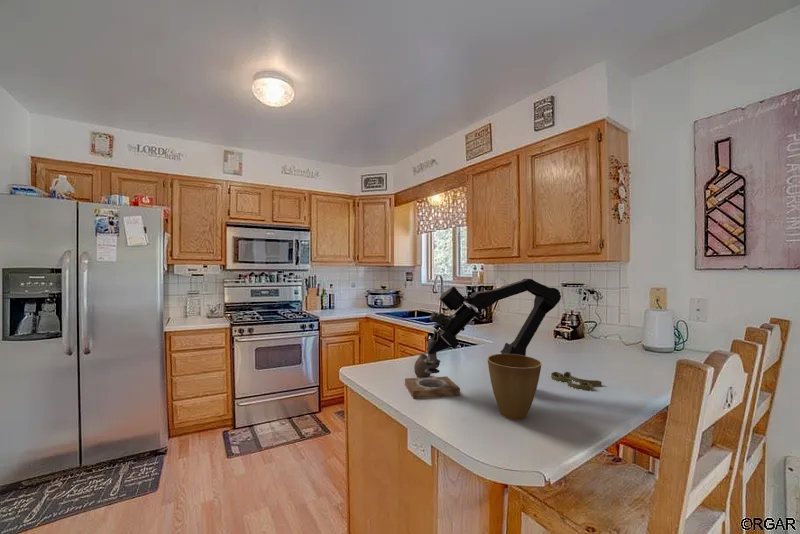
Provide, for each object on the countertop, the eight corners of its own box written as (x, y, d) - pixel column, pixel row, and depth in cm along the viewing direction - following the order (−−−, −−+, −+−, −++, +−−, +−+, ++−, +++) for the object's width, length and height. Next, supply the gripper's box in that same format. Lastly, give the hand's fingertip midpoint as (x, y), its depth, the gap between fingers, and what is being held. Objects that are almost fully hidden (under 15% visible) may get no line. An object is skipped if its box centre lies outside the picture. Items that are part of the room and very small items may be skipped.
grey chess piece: (435, 374, 117) (435, 338, 117) (420, 371, 121) (420, 336, 121) (443, 370, 122) (443, 336, 122) (429, 368, 125) (429, 334, 126)
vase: (432, 380, 133) (432, 357, 133) (414, 379, 133) (414, 356, 133) (431, 374, 140) (431, 352, 140) (413, 374, 140) (414, 352, 140)
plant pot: (476, 410, 104) (476, 356, 104) (511, 401, 112) (512, 351, 112) (515, 431, 91) (515, 369, 91) (552, 419, 99) (553, 362, 99)
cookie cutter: (607, 388, 127) (607, 383, 127) (586, 393, 121) (587, 388, 121) (563, 375, 143) (563, 370, 143) (543, 379, 137) (543, 374, 137)
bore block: (447, 383, 129) (447, 376, 129) (459, 395, 116) (460, 388, 116) (404, 385, 126) (404, 378, 126) (413, 398, 113) (413, 390, 113)
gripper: (439, 301, 131) (409, 330, 130) (448, 306, 112) (414, 341, 112) (459, 322, 131) (430, 351, 131) (472, 331, 113) (438, 365, 112)
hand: (428, 352), depth 121 cm, fingers closed on grey chess piece, 4 cm apart
